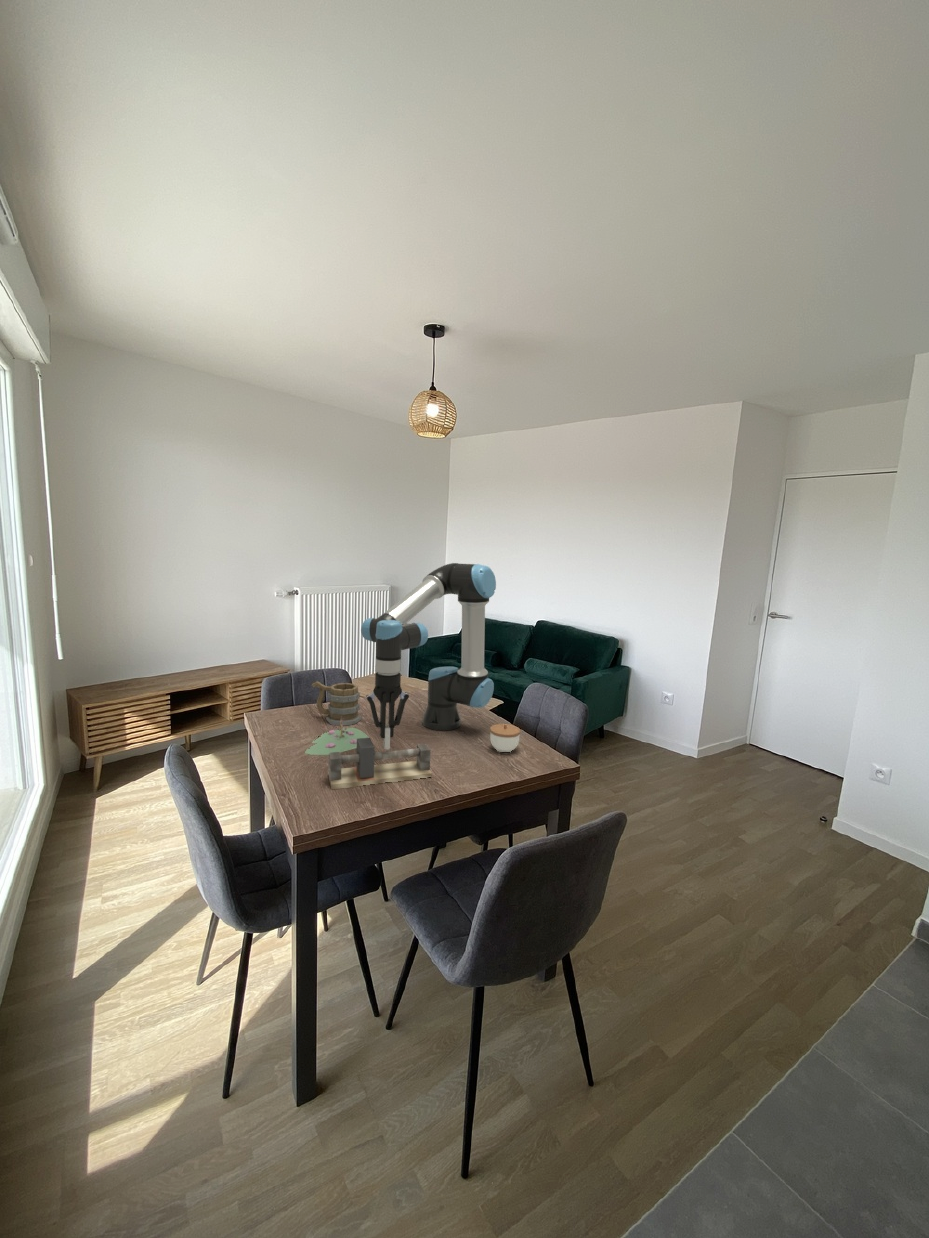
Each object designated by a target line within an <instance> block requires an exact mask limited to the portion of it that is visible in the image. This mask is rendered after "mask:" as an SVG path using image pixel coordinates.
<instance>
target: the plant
mask: <svg viewBox="0 0 929 1238" xmlns="http://www.w3.org/2000/svg"><path fill="white" fill-rule="evenodd" d="M341 717H342V716H341ZM341 722H342V719H341V720H340V725H339V726H338V725H332V728H337V729H331V730H329V732H328V731H326V732H327V733H326V732H323V733H324V734H323V733H321V734H322V735H321V737H319V738H318V739H316V738H315V739H316V740H315V739H314V740H315V741H314V740H313V741H312V742H311V743H317V744H315V745H313V746H311V747H310V749H308V748H306V750H305V752H304V754H306V755H310V756H314V755H315V756H329V753H333V752H340V753H343V752H347V751H351V750H354V749H357V739H359V738H369V736H368V734H367V733H365V732H364V731H362V730H360V729H358V728H356V727H344V724H343V725H341V724H342V723H341ZM343 722H344V718H343Z"/></svg>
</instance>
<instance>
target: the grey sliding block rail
mask: <svg viewBox="0 0 929 1238" xmlns="http://www.w3.org/2000/svg"><path fill="white" fill-rule="evenodd" d="M431 752H432V751H431V748H430V747H429V745H428V744H427V743H421V744H416V748H409V749H398V750H388V751H387V750H386V751H378V752H377V751H376V752H375V751H374V762H376V761H385V760H394V759H395V760H396V759H404V758H414V757H415V758H416V760H410V761H402V762H401V761H400V762H394V763H393V762H392V763H390V762H389V763H382V764H374V777H369V778H360V776H359V773H358V770H357V767H356V766H353V767H344V768H343V767H342V765H345V764H354V763H356V764H357V762H359V754H357V753H355V754H343V755H341V752H333V753H329V755H328V768H329V769H328V780H329V784H330V785H329V786H330V790H339V789H346V788H347V789H349V788H356V787H357V786H358V787H364V786H363V785H366V786H371V785H370V784H375V785H379V784H378V783H383V784H386V783H385V782H392V783H397V782H398V781H401V782H405V781H404V780H409V781H414V780H413V779H418V780H421V779H420V778H426V779H428V778H427V777H432V778H433V772H432V771H431ZM398 783H399V782H398Z"/></svg>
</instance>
